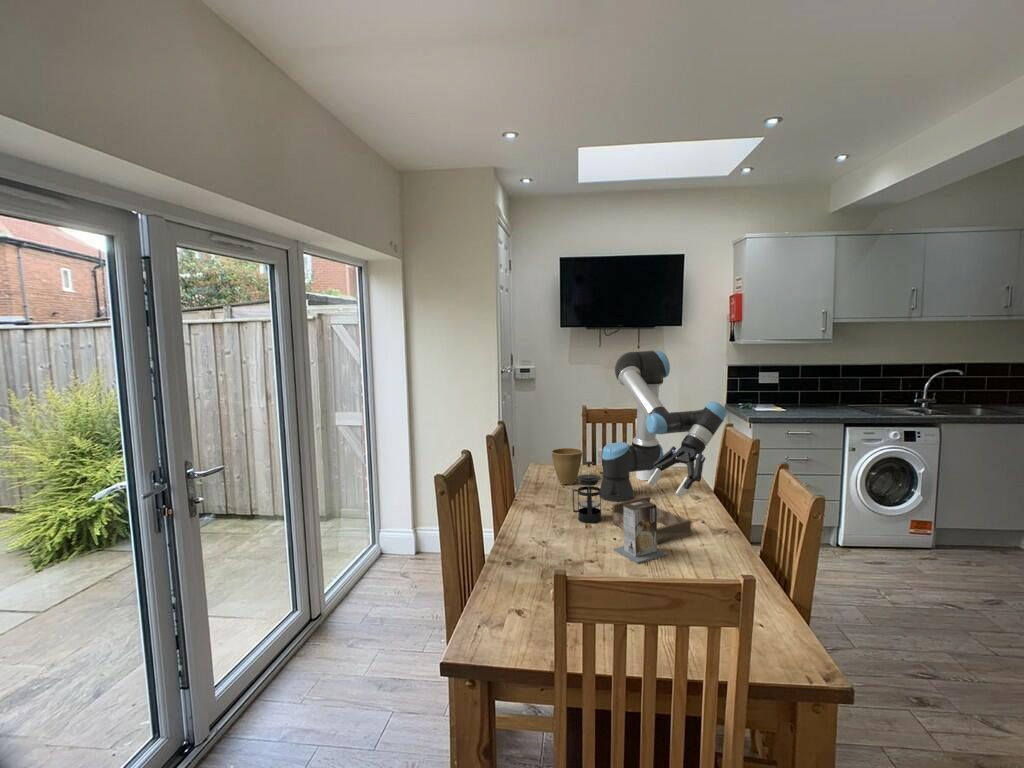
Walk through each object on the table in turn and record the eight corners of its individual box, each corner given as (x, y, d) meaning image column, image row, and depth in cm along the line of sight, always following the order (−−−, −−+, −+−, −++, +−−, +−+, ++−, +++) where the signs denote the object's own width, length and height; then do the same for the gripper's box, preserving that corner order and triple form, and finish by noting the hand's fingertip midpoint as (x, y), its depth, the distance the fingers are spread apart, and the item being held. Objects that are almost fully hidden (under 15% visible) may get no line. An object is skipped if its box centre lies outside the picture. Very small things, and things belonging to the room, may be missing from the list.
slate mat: (613, 550, 179) (613, 548, 179) (641, 543, 184) (641, 541, 184) (637, 563, 168) (637, 561, 168) (666, 555, 174) (666, 553, 173)
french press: (603, 515, 213) (602, 459, 211) (604, 523, 204) (602, 465, 201) (573, 514, 214) (572, 459, 212) (573, 523, 205) (571, 465, 203)
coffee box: (645, 545, 181) (644, 499, 179) (657, 551, 175) (657, 504, 173) (623, 550, 177) (622, 504, 175) (635, 557, 171) (635, 509, 170)
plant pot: (584, 487, 251) (584, 454, 250) (553, 488, 252) (552, 455, 250) (581, 478, 266) (580, 447, 265) (551, 479, 266) (550, 448, 265)
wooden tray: (612, 524, 202) (612, 504, 201) (648, 516, 210) (647, 496, 209) (653, 544, 182) (653, 522, 182) (690, 534, 190) (690, 512, 189)
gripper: (731, 454, 175) (697, 506, 169) (675, 441, 197) (644, 487, 192) (719, 440, 172) (685, 493, 167) (664, 428, 194) (633, 475, 189)
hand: (663, 490), depth 179 cm, fingers open, 13 cm apart
